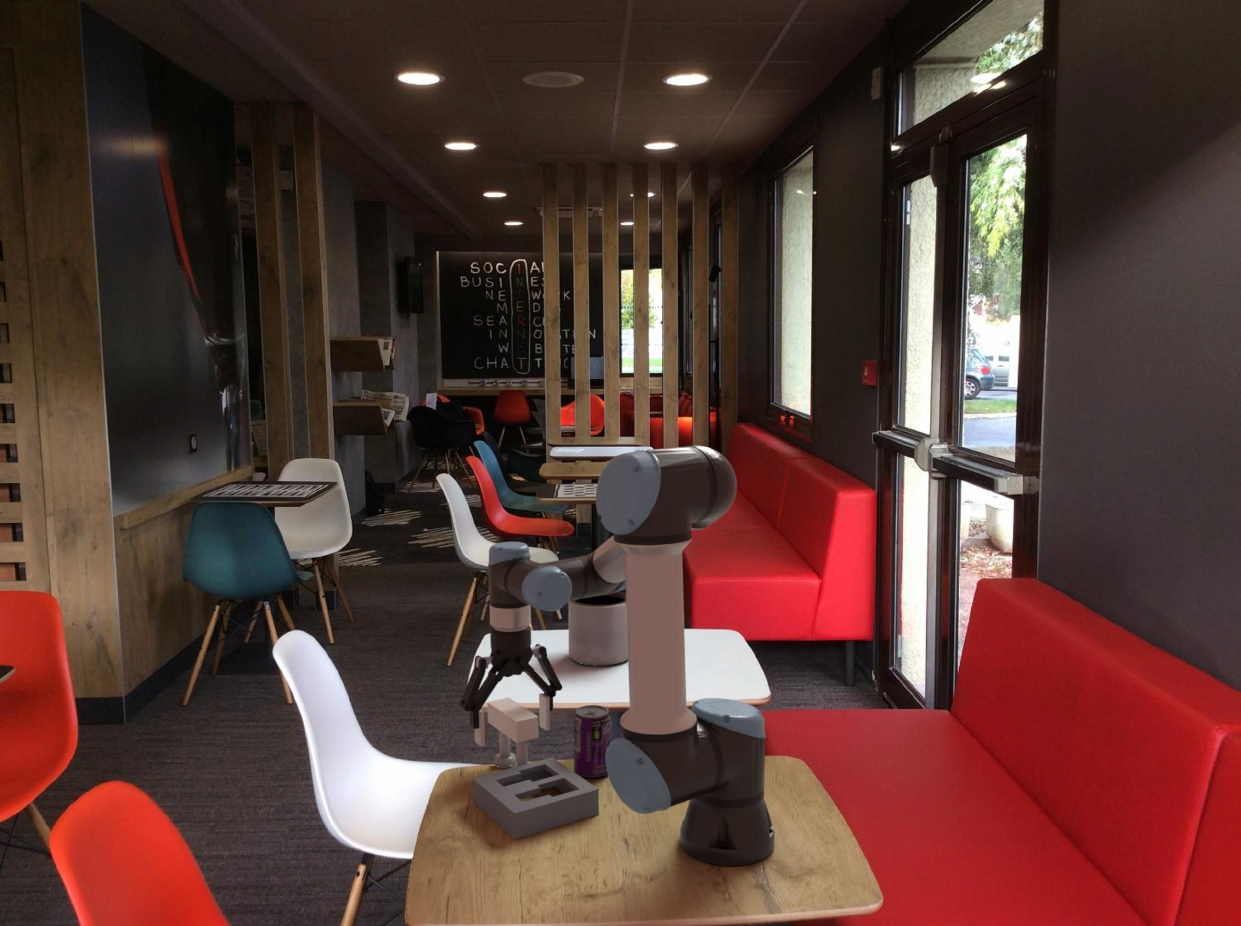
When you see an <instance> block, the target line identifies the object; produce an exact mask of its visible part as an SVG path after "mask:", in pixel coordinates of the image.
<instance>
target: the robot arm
mask: <svg viewBox="0 0 1241 926" xmlns="http://www.w3.org/2000/svg"><path fill="white" fill-rule="evenodd" d="M596 484H597V485H596V489H595V505H596V512H597V515H598V516H599V517H601V518H600V522H601V525H602V526H603V527H604V528H605V529H606V530H607V531H608V532H610V533H612V534H613V535H612V536H611V537H610V538H609V539H607V540H606V541H605V542H604V543H602V544H600V546H599V547H597V548H596V549H595V550H593V551H592V552H591V553H590V554H587V555H582V556H576V557H572V558H571V557H570V558H565V559H560V560H553V561H552V560H551V561H547V562H537V561H533V560H532V559H531V554H530V548H529V545H528V544H527V543H524V542H521V541H505V542H498V543H495V544H492V545H491V547H489V549H488V564H487V569H488V570H487V571H488V592H489V593H488V594H489V625H490V626H491V628H490V630H489V635H490V636H489V638H490V639H489V641H490V650H491V652H490V654H489V656H481V655H475V657H474V666H473V669H472V672H471V673H470V674H471V675H470V678H469V680H468V681H467V685H466V687H465V689H464V692H463V694H462V696H461V699H460V702H459V705H458V706H459V707H460V708H461V709H462V710H464V711H465V712H469V726H470V727H471V728H472V729H473V730H474V743H475V744H476V745H478V746H479V747H480V748H482V747H486V744H485V743H486V740H485V739H486V736H485V733H486V732H485V711H484V710H482V708H483V707H484V705H485V703H486V701H487V700H488V699H489V697H490V696H491V694H492V692H494V689H495V688H496V686H498V684H499V683H500V682H501V681H502V680H503V679H504V677H505V678H510V677H513V676H520V675H522V674H523V672H524V673H525V674H526V675H527V676H528V677H529V678H530V680H531V681H533V682H534V684H535V685H537V687H538V688H539V689H541V691H542V692H541V693H538V695H539V696H538V697H539V698H538V699H539V700H538V701H539V703H538V705H539V706H538V710H539V714H538V715H539V727H540V728H541V729H543V730H544V731H546V732H547V731H548V732H549V731H551V714H550V712H552V711H553V710H554V698H555V697H556V696H557V692H558V691H559V692H560V691H562V690H563V685H562V683H561V681H560V679H559V677H558V675H557V672H555V670H554V667H553V665H552V664H551V661H550V660H549V658H548V649H547V647H545V646H544V645H542V644H540V643H536V644H535V645H534V647H531V645H532V628H531V626H530V625H531V623H532V615H531V614H532V613H531V611H532V608H534V609H536V610H540V611H546V612H556V611H559V610H561V609H562V608H563V607H564V606H566V605H567V604H568V603H569V602H568V601H573V600H578V599H583V598H588V597H594V596H599V595H606V594H613V593H615V592H622V591H623V590H625V594H626V612H627V641H628V659H627V666H628V667H627V669H628V691H629V693H628V695H629V708H628V709H627V711H625V713H623V714H622V716H621V717H620V720H619V721H620V722H619V723H620V724H619V725H620V726H619V729H620V737H616V738H614V739H613V740H612V742H611V743H610V744H609V747H607V750H606V755H605V762H606V769H607V776H608V779H609V782H610V784H611V786H612V788H613V790H614V791H615V793H616V794H617V797H618V798H619V800H620V801H621V802H622V803H623V804H624V805H625V806H626V807H627V808H629V809H630V810H631V811H633V812H634V813H637V814H640V815H641V814H642V815H648V814H653V813H655V812H659V811H662V812H664V811H667V810H669V808H672V807H674V806H678V805H680V804H683V803H685V802H688V801H689V802H688V806H687V809H686V812H685V816H684V818H683V820H682V822H681V824H680V829H679V831H680V833H679V835H680V840H679V841H680V846H681V848H682V849H683V851H684V852H685V853H687V855H689V856H690V857H692V858H694V859H696V860H699V861H701V862H704V863H708V864H710V865H715V866H725V867H726V866H727V867H737V866H747V865H750V864H751V865H752V864H754V863H758V862H761V861H762V860H765V859H766V858H767V857H770V855H771V854H772V853H773V851H774V849H775V841H776V840H775V834H776V833H775V829H774V825H773V823H772V822H773V821H772V818H771V816H770V813H769V809H768V806H767V803H766V800H765V767H766V766H765V764H766V763H765V762H766V760H765V759H766V755H765V754H766V738H767V735H766V732H765V718H764V715H763V713H762V712H761V711H760V710H759V709H758V708H757V707H755V706H753V705H751V704H749V703H746V702H744V701H739V700H735V699H729V698H722V697H708V698H701V699H697V700H695V701H694V702H692V705H691V708H689V707H688V706H687V682H686V681H687V679H686V678H687V677H686V675H687V674H686V648H685V647H686V646H685V645H686V643H685V642H686V641H685V611H684V610H685V607H684V606H685V603H684V574H683V573H684V572H683V551H684V549H685V548H686V547H687V546H688V545H689V544H690V543H691V542H692V540H693V534H692V533H693V530H695V531H697V530H698V531H700V530H703V529H706V528H708V527H709V526H710V525H712V524H714V523H715V522H717V521H718V520H720V518H722V517H723V516H724V515H725V514H727V512H728V511H729V509H730V508H732V506H733V503H734V502H735V500H736V496H737V491H738V490H737V489H738V480H737V475H736V473H735V470H734V468H733V466H732V465H731V463H730V461H729V460H728V459H727V458H726V457H725V456H724V455H723V454H721V452H718V451H717V450H715V449H712V447H707V446H705V445H695V444H694V445H687V446H680V447H667V448H665V447H664V448H654V449H637V450H635V451H631V452H630V451H629V452H625V453H621V454H618V455H616V456H614V457H612V459H610V460H609V461H608V462H607V464H606V466H605V467H603V469H602V470H601V472H600V474H599V478H598V481H597V483H596ZM531 607H532V608H531ZM533 657H534V658H536V659H537V663H539V666H540V668H541V669H542V671H543V673H544V675H545V677H546V679H547V680H548V683H547V682H546V681H545V680H544V679H543V677H541V675H540V674H539V673H538V672H537V671H536V670H535V668H533V666H532V665H530V662H531V660H532V658H533ZM489 665H491V668H490V669H489ZM487 669H489V671H488V673H487V676H486V678H485V674H486V671H487ZM484 678H485V679H484ZM483 679H484V681H483Z"/></svg>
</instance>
